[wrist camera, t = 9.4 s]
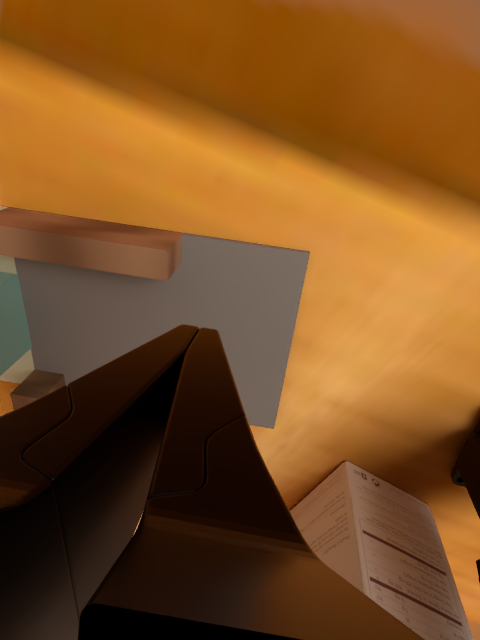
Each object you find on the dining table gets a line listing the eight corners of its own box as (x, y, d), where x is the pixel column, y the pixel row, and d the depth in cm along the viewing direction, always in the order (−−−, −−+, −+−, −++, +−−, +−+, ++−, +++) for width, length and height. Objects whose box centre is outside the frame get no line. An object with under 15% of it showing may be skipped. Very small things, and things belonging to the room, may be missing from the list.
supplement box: (364, 551, 31) (399, 797, 20) (285, 510, 30) (276, 747, 19) (433, 503, 28) (522, 770, 17) (346, 455, 26) (380, 707, 15)
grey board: (309, 251, 20) (309, 253, 20) (274, 425, 26) (273, 428, 26) (-63, 196, 21) (-67, 197, 21) (-16, 374, 27) (-19, 377, 27)
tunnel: (183, 232, 20) (168, 250, 18) (175, 450, 28) (163, 483, 26) (8, 207, 21) (-30, 221, 19) (48, 427, 29) (25, 457, 26)
